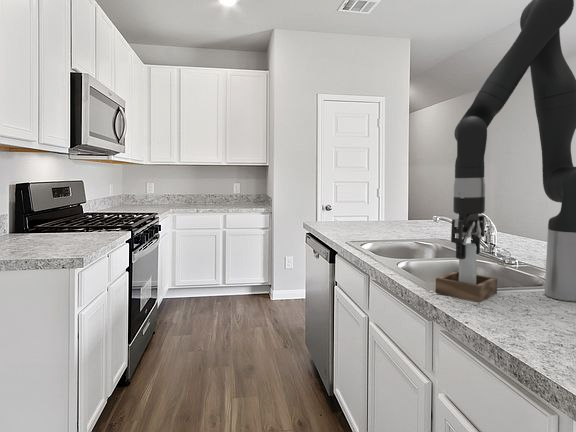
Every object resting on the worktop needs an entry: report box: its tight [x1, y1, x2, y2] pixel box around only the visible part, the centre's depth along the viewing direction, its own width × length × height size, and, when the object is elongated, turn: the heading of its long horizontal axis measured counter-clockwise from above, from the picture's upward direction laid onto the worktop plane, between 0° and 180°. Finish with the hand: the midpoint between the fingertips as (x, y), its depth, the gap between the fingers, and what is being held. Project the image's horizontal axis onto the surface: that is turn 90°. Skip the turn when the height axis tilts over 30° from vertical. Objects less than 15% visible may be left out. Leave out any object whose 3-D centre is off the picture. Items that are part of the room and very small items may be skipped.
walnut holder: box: [434, 270, 498, 303], centre depth 107 cm, size 11×11×4 cm
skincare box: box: [458, 242, 477, 285], centre depth 107 cm, size 6×4×12 cm
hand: (468, 256), depth 107 cm, fingers open, 8 cm apart
